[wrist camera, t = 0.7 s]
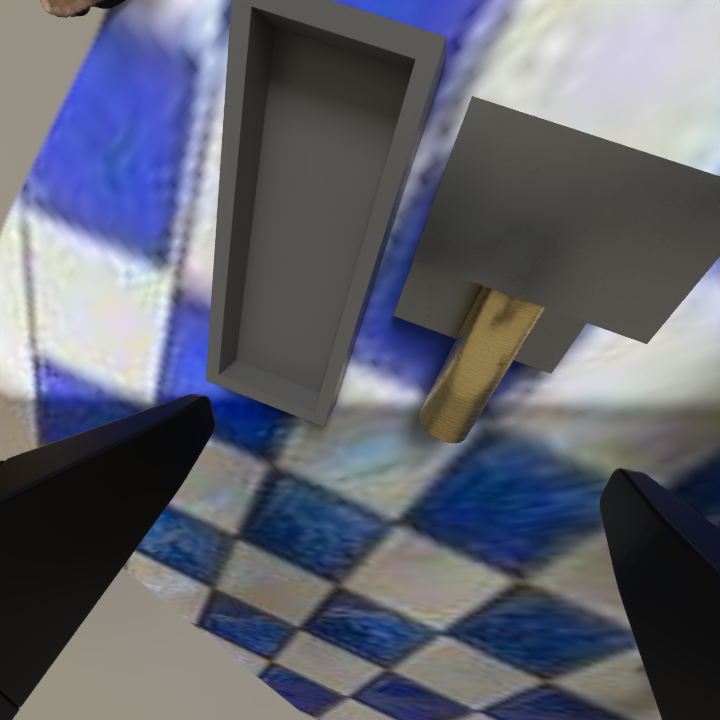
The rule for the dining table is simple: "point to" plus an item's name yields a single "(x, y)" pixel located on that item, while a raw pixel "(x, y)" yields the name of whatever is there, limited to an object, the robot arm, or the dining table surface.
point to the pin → (477, 363)
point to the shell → (76, 6)
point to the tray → (309, 189)
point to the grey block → (560, 232)
